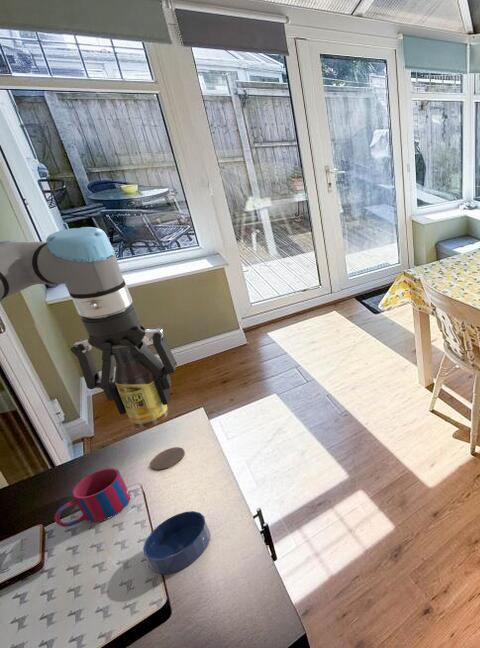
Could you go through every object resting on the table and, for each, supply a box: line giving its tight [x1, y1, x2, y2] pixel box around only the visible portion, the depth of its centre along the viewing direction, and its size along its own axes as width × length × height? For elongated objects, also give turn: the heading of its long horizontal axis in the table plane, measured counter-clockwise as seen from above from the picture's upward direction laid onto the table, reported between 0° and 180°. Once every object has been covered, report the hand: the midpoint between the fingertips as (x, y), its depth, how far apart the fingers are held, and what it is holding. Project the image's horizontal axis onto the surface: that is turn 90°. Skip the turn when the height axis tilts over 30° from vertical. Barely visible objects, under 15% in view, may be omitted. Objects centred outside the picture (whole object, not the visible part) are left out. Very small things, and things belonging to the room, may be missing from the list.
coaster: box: [150, 446, 186, 471], centre depth 93 cm, size 6×6×1 cm
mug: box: [53, 467, 131, 528], centre depth 79 cm, size 7×10×7 cm
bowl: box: [142, 510, 211, 575], centre depth 75 cm, size 9×9×4 cm
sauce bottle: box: [111, 344, 169, 429], centre depth 84 cm, size 7×6×20 cm
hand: (146, 404), depth 86 cm, fingers closed on sauce bottle, 6 cm apart
